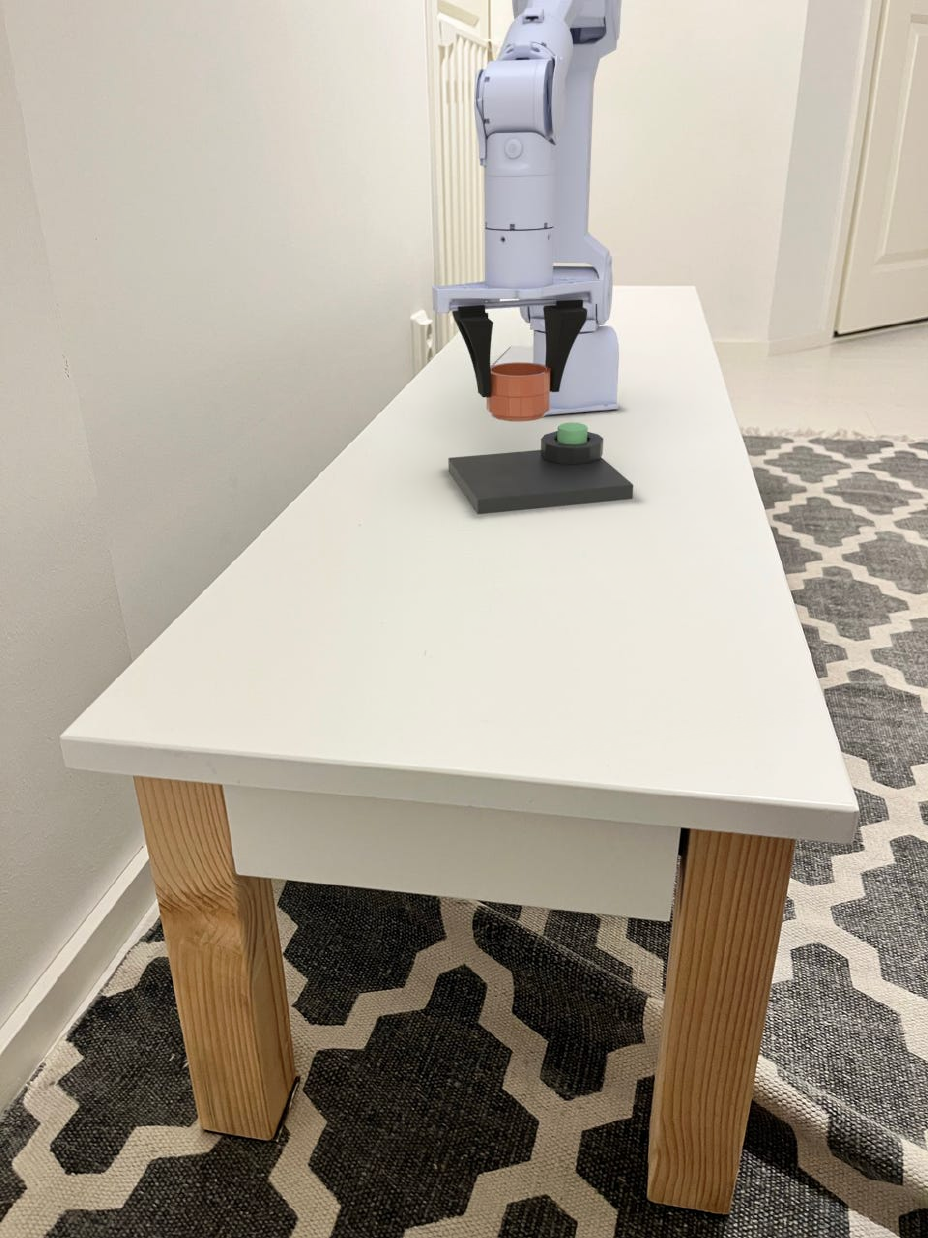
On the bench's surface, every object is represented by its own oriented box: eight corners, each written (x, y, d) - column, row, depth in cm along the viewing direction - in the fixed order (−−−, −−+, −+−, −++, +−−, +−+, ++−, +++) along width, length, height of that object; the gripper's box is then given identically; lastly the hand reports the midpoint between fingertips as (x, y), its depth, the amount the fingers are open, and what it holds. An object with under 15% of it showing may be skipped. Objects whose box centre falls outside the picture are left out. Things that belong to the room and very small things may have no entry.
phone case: (509, 356, 140) (487, 379, 126) (509, 344, 139) (487, 367, 125) (571, 358, 138) (555, 382, 124) (571, 346, 137) (556, 369, 123)
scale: (589, 457, 96) (590, 428, 95) (636, 499, 85) (638, 466, 84) (447, 470, 93) (446, 440, 92) (477, 515, 83) (477, 481, 81)
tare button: (581, 437, 93) (581, 421, 93) (591, 445, 91) (591, 429, 90) (553, 439, 93) (553, 423, 92) (562, 447, 90) (562, 431, 90)
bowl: (539, 404, 90) (540, 360, 88) (557, 419, 85) (558, 373, 83) (480, 408, 89) (480, 364, 87) (495, 424, 84) (495, 378, 82)
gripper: (442, 235, 75) (447, 409, 81) (620, 227, 78) (611, 396, 84) (425, 227, 81) (431, 389, 87) (590, 220, 84) (584, 378, 90)
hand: (518, 392), depth 86 cm, fingers closed on bowl, 5 cm apart
